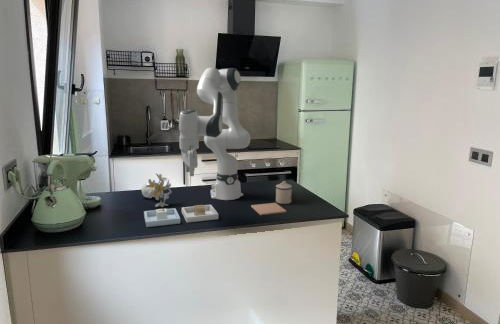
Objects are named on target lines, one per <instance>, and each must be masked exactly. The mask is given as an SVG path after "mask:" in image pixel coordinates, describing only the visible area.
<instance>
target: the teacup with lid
mask: <svg viewBox="0 0 500 324" xmlns="http://www.w3.org/2000/svg"><path fill="white" fill-rule="evenodd" d="M292 191H293V186H292V185H291V184H290V183H287V181H286V180H283V181H281V183H278V184H276V185H275V203H277V204H279V205H288V204H291V203H292V197H293V196H292V194H293V193H292Z"/></svg>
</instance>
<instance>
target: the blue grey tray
mask: <svg viewBox="0 0 500 324" xmlns="http://www.w3.org/2000/svg"><path fill="white" fill-rule="evenodd" d="M165 209H166V210H167V219H162V220H157V219H156V209H154V210H145V211H144V210H143V217H144V222H145V226H146V228H151V227H160V226H168V225H169V226H170V225H176V224H177V225H178V224H179V225H180V224H181V217H180V215H179V213H178V211H177V209H176V207H175V208H173V207H172V208H165Z"/></svg>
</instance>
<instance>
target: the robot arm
mask: <svg viewBox="0 0 500 324" xmlns="http://www.w3.org/2000/svg"><path fill="white" fill-rule="evenodd" d="M240 83H241V73H240V72H239V70H238V69H237V68H235V67H229V68H221V69H218V68H215V67H208V68H205V70H204V71H203V73H202V74H201V76H200V78H199V81H198V84H197V85H196V94H197V96H198V98H199V99H200V100H201V101H203V102H204V103H207V104H210V105H212V106H213V109H212V110H213V111H212V113H213V114H211V115H198V111H197V110H196V109H193V108H189V109H183V110H181V111H180V112H179V119H178V129H179V138H178V139H179V140H178V141H179V149H180V153H181V160H182V162H183V163H184V166H185V172H186V173H189V176H190V177H194V176H195V169H197V168H198V152H197V149H199V148H200V147H199V146H200V144H199V142H200V140H199V138H200V137H203V141H204V145H205V146H206V147H207V148H208V149H210V150H211V152H213V155H214V156H215V158H216V164H217V166H216V167H217V172H216V179H215V181H214V182H213V183H214V184H211V189H210V197H211V199H214V200H215V199H216V200H223V201H232V200H236V199H240V197H243V196H244V193H242V191H241V181H240V180H239V173H238V160H237V158H236V157H235V156H234V155H232V154H230V153H228V152H227V150H240V149H246V148H248V147H249V145H250V143H251V135H250V133H249V132H248V130H246V129H245V128H244V127H243V126H242V125H241V123H240V121H239V112H238V110H239V108H238V106H239V105H238V94H237V90H238V87H239V86H240ZM223 124H224V125H226V126H228V128H223Z"/></svg>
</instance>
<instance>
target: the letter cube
mask: <svg viewBox="0 0 500 324" xmlns="http://www.w3.org/2000/svg"><path fill="white" fill-rule="evenodd" d="M166 209H167V208H158V209H155V210H156V219H157V220H162V219H167V210H166Z"/></svg>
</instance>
